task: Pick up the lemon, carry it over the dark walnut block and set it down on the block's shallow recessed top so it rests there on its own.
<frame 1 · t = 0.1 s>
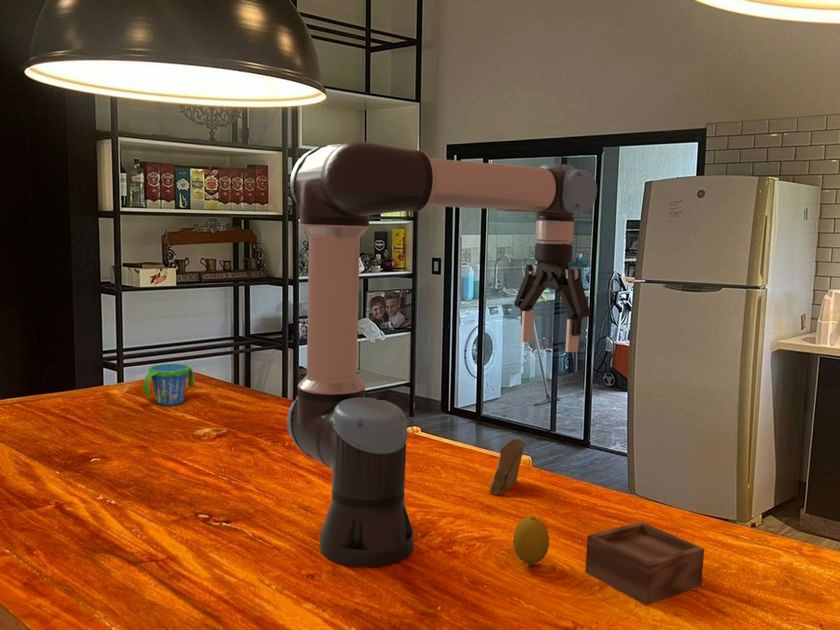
hand: (548, 346, 162), 28 cm above the table, tool pointing down, fingers open, 13 cm apart
snack cup: (169, 403, 219), on the table
rock: (500, 488, 159), on the table
walnut block: (642, 581, 120), on the table
lemon: (529, 566, 123), on the table
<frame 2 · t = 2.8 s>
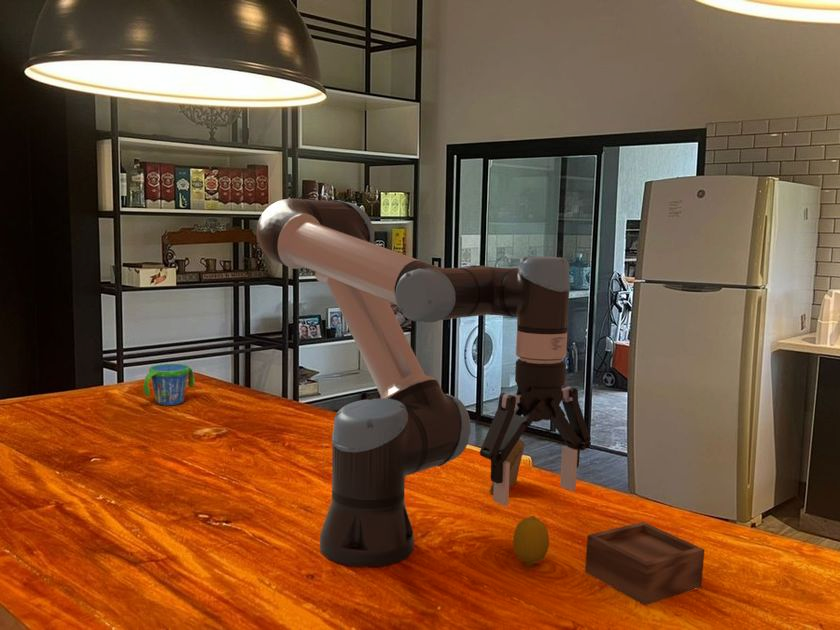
hand: (535, 495, 121), 11 cm above the table, tool pointing down, fingers open, 13 cm apart
nothing on the table moved.
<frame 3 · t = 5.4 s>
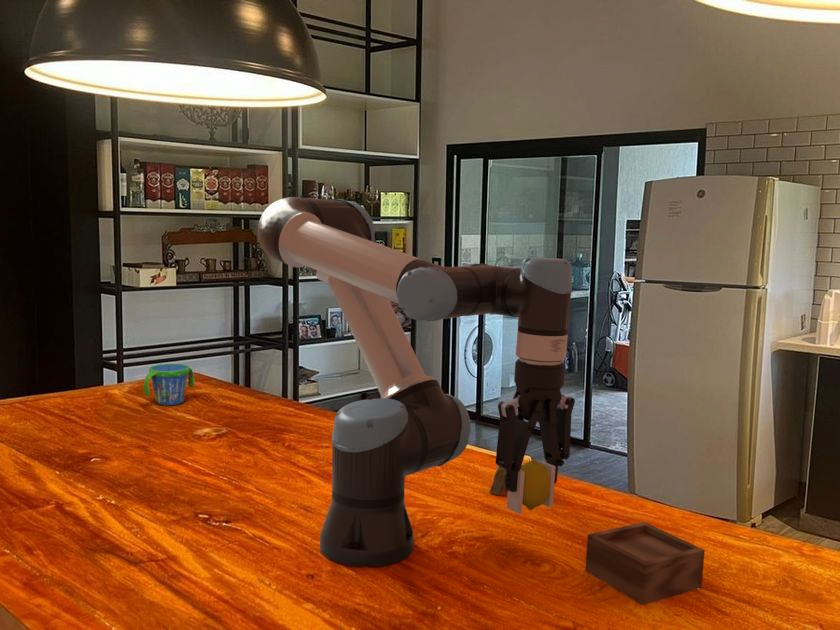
hand: (529, 506, 122), 9 cm above the table, tool pointing down, fingers closed on lemon, 5 cm apart
lemon: (530, 511, 122), point 9 cm above the table, touching gripper
everything else where it was.
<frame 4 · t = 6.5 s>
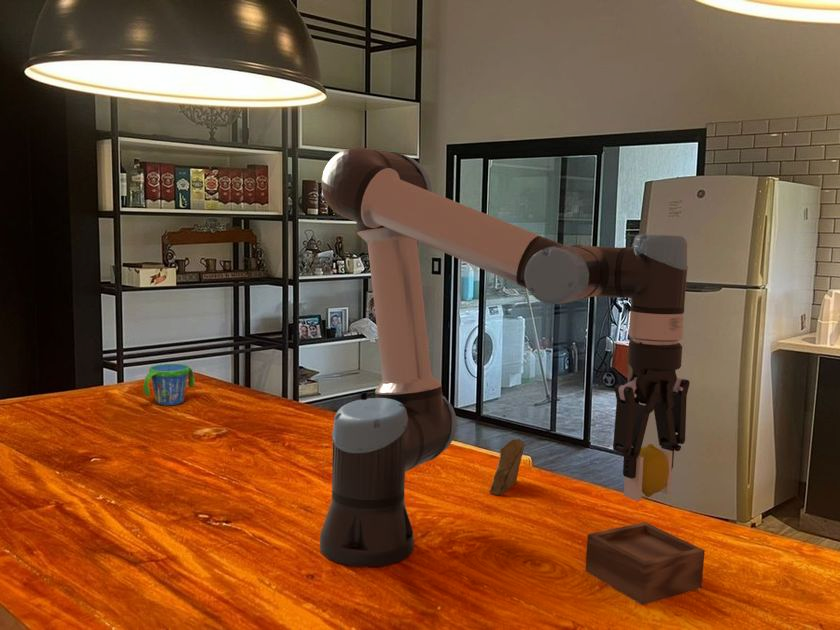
hand: (647, 494, 118), 13 cm above the table, tool pointing down, fingers closed on lemon, 5 cm apart
lemon: (647, 498, 118), point 13 cm above the table, touching gripper
everything else where it was.
when the fingers open (6 cm above the table, at t = 8.0 s): lemon drops 1 cm, resting on walnut block.
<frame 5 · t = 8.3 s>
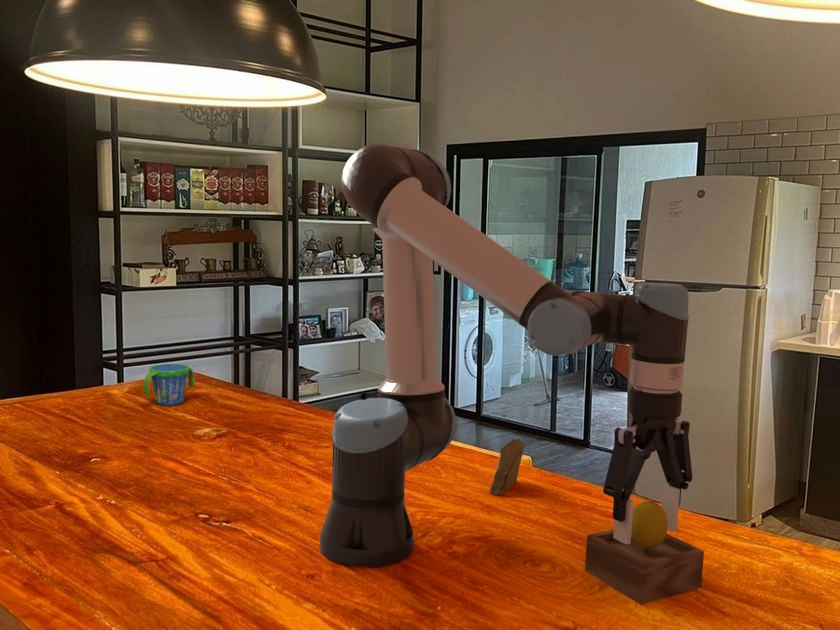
hand: (645, 534, 119), 7 cm above the table, tool pointing down, fingers open, 9 cm apart
walnut block: (641, 582, 120), on the table, touching lemon
lemon: (645, 551, 119), point 4 cm above the table, touching walnut block
everything else where it was.
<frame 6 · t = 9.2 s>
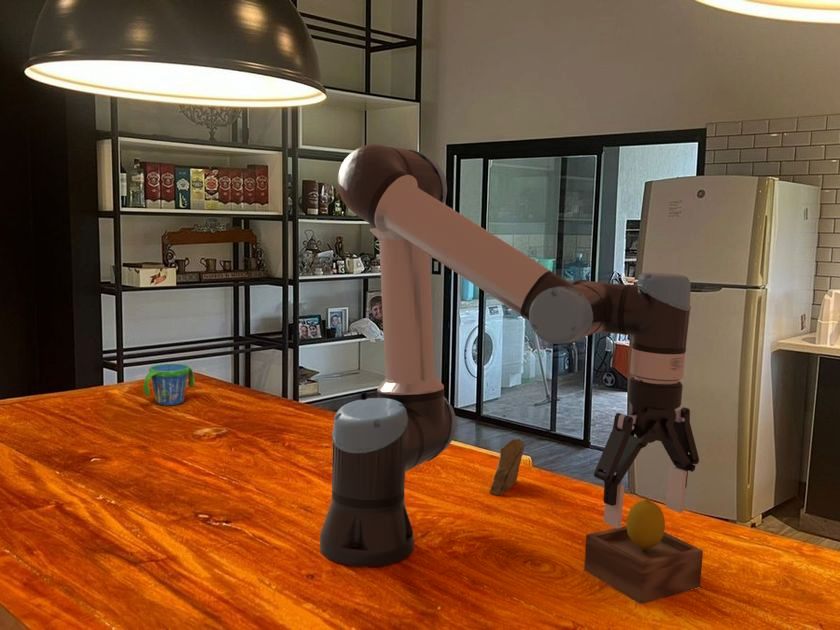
hand: (644, 517, 119), 10 cm above the table, tool pointing down, fingers open, 13 cm apart
walnut block: (640, 581, 120), on the table
lemon: (643, 551, 119), point 4 cm above the table
everything else where it was.
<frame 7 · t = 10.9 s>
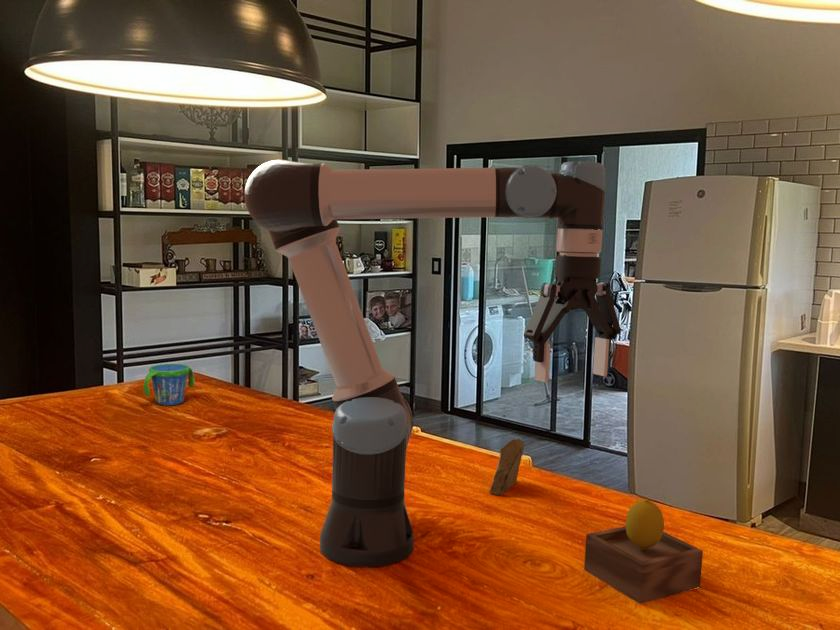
hand: (571, 378, 136), 27 cm above the table, tool pointing down, fingers open, 13 cm apart
nothing on the table moved.
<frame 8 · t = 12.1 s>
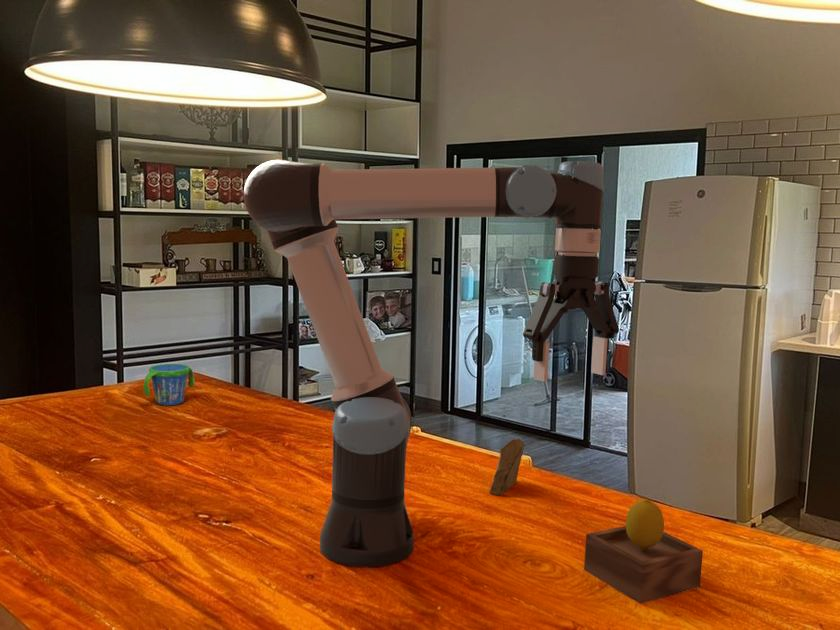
hand: (570, 377, 137), 27 cm above the table, tool pointing down, fingers open, 13 cm apart
walnut block: (640, 581, 120), on the table, touching lemon
lemon: (643, 551, 119), point 4 cm above the table, touching walnut block
everything else where it was.
at the end: lemon 0.1 cm from the walnut block (horizontally); lemon point 4.3 cm above the table; the gripper is holding nothing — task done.
